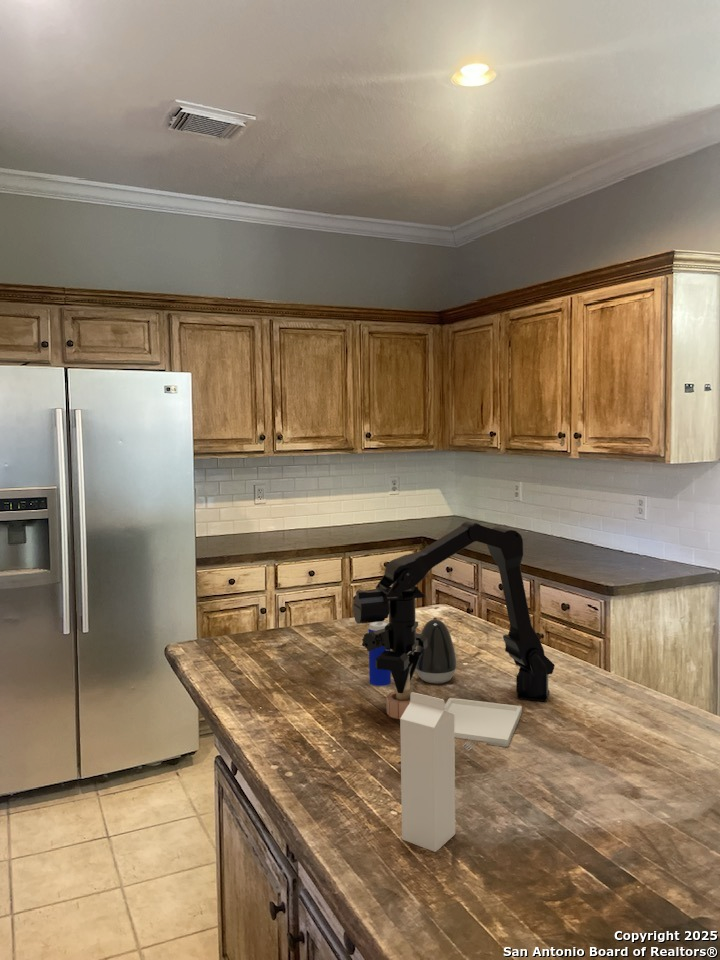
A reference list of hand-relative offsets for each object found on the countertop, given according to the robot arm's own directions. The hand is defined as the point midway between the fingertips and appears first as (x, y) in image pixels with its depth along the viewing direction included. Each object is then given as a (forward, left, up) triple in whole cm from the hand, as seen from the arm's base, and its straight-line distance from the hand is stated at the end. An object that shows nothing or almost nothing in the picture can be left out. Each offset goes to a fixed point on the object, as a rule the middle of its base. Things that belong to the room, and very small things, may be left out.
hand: (403, 689), depth 158 cm
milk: (-18, +44, -6) cm, 48 cm away
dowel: (0, 0, -5) cm, 5 cm away
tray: (-16, 0, -6) cm, 17 cm away
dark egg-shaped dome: (-1, -23, -6) cm, 24 cm away
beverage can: (+11, -16, -6) cm, 20 cm away
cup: (0, 0, -6) cm, 6 cm away
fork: (-12, +17, -6) cm, 22 cm away
